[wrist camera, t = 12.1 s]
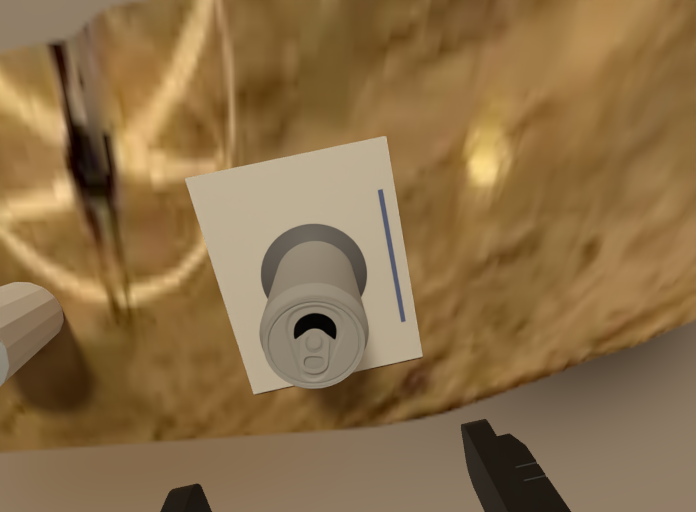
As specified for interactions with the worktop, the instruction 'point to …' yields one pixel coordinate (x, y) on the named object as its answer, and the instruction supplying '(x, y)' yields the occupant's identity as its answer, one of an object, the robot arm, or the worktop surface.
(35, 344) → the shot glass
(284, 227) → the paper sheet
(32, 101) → the worktop surface
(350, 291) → the beverage can
